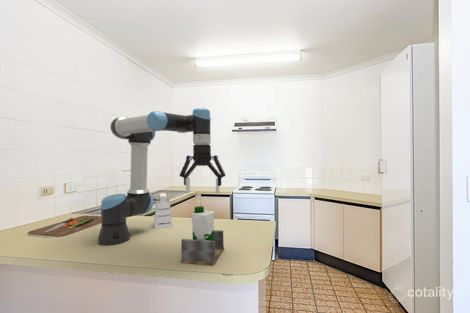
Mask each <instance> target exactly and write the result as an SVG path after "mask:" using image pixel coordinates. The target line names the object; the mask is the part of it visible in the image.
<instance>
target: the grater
mask: <svg viewBox="0 0 470 313" xmlns="http://www.w3.org/2000/svg"><path fill="white" fill-rule="evenodd" d="M155 201H156V202H155V213H154V223H153V225H154V226H155V227H154V226H153V227H154V230H158V229H159V228H161V229H167V228H168V227H169V228H173V226H174V224H173V218H172V211H171V204H170V200H169V199H168V198H167V194H166V193H165V192H163V193H159V198H158V199H157V200H155ZM161 223H164V224H161ZM159 230H160V229H159Z"/></svg>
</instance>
